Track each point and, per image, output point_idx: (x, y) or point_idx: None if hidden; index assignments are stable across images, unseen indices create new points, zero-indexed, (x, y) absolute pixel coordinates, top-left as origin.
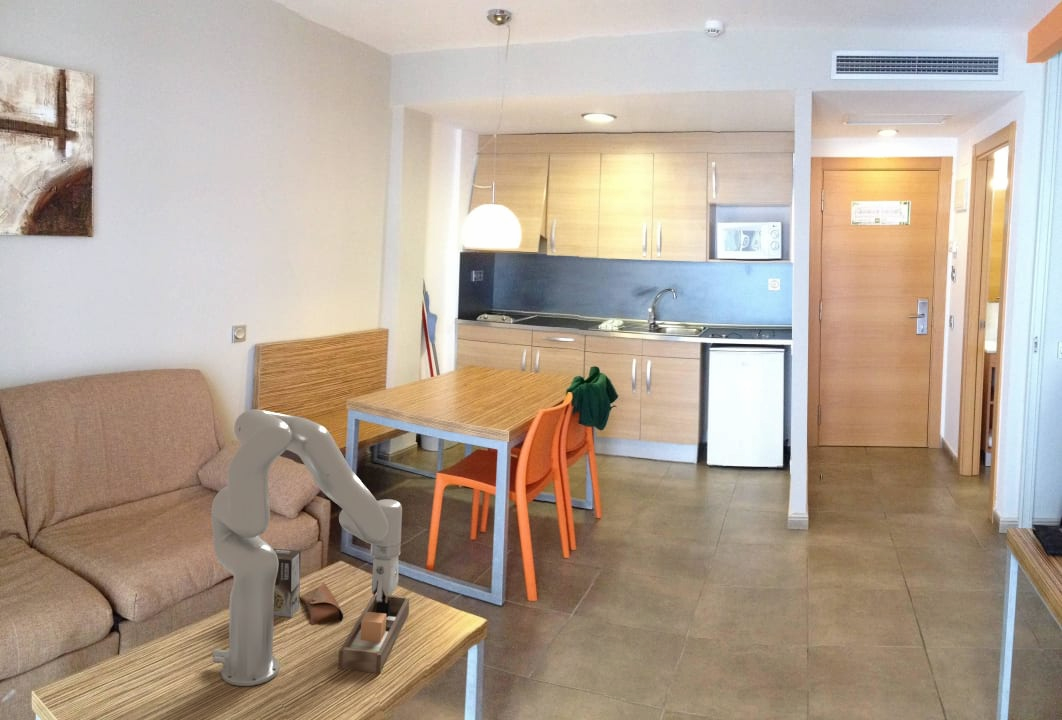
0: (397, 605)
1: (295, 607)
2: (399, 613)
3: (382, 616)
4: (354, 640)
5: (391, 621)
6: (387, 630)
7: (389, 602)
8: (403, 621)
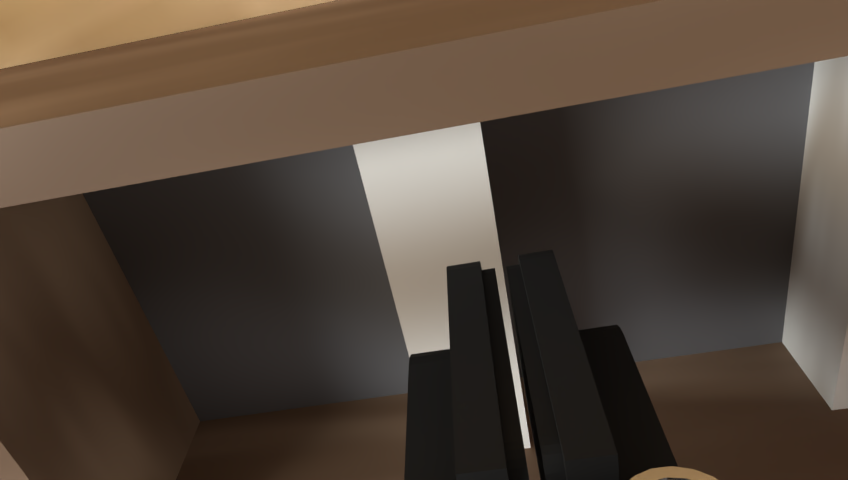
0: (29, 275)
1: None
2: (467, 93)
3: None
4: None
5: (483, 163)
6: (565, 139)
7: (500, 438)
8: (295, 20)
